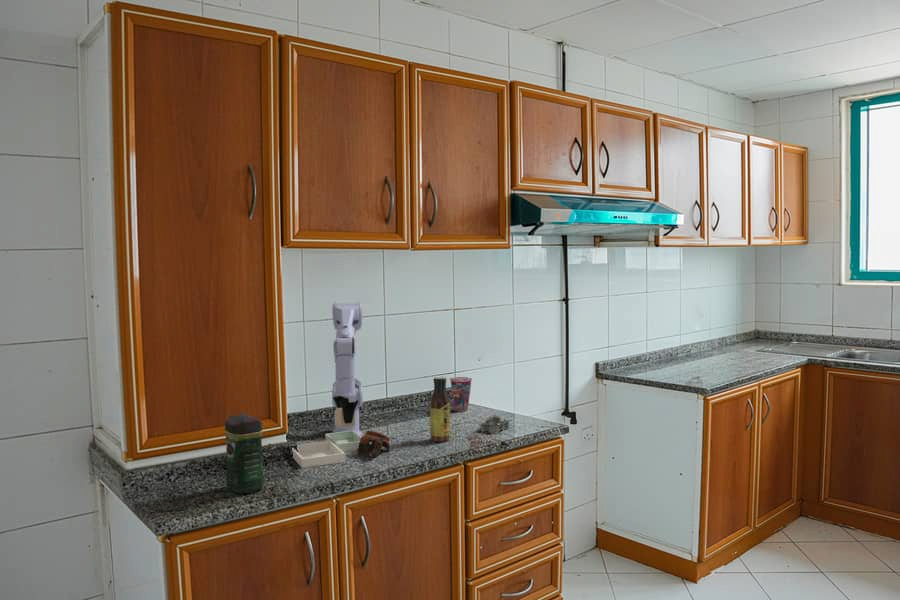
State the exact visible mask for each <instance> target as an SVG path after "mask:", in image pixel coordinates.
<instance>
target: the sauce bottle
mask: <svg viewBox="0 0 900 600" xmlns="http://www.w3.org/2000/svg"><path fill="white" fill-rule="evenodd" d="M429 408H430V409H429V410H430V411H429V413H430V414H429V415H430V417H429V420H430V423H429V426H430V427H429V429H430V430H429V434H430V440H431V441H432V442H436V443H442V442H448V441H449V440H450V436H451V403H450V399H449V396H448V393H447V378H446V377H444V376H435V377H433V393H432V395H431V397H430V407H429Z"/></svg>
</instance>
